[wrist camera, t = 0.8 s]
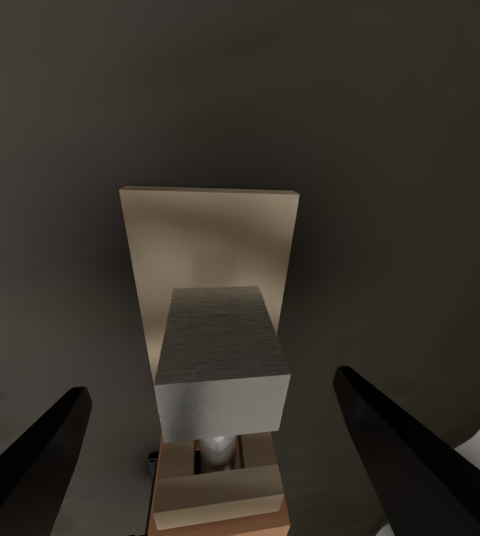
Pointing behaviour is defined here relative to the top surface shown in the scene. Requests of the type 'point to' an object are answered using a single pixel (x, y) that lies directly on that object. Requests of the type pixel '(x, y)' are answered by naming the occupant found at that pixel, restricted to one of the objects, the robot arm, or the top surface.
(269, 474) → the bracket
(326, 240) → the top surface
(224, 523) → the spacer
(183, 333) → the shaft
